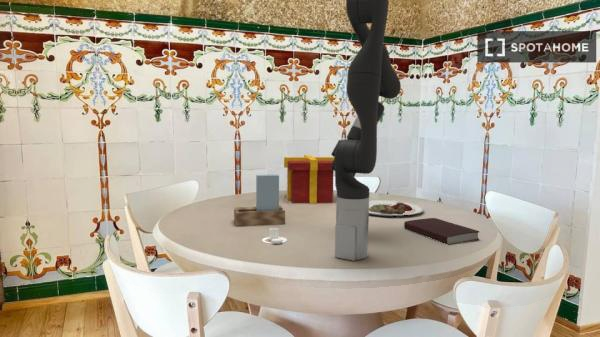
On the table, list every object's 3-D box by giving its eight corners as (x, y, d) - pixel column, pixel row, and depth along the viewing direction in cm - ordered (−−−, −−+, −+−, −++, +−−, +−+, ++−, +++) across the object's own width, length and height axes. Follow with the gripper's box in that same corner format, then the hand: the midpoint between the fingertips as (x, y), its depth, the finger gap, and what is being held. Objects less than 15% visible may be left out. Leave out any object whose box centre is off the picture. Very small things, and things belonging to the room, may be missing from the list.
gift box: (282, 194, 221) (282, 154, 219) (330, 194, 224) (331, 154, 221) (286, 204, 196) (286, 160, 194) (340, 204, 199) (341, 159, 197)
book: (446, 246, 137) (446, 235, 137) (403, 229, 157) (403, 219, 156) (479, 241, 143) (480, 230, 143) (434, 226, 163) (434, 216, 162)
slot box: (280, 218, 170) (280, 205, 170) (285, 224, 161) (285, 210, 161) (234, 220, 166) (234, 207, 166) (236, 226, 158) (235, 212, 157)
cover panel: (277, 221, 166) (277, 174, 163) (278, 223, 163) (279, 175, 160) (256, 222, 164) (256, 174, 162) (257, 224, 161) (257, 175, 159)
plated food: (337, 208, 190) (337, 201, 190) (384, 201, 208) (385, 194, 208) (390, 222, 166) (390, 214, 166) (438, 212, 184) (438, 204, 184)
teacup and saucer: (283, 246, 135) (283, 233, 135) (258, 245, 137) (258, 232, 136) (288, 238, 144) (288, 226, 143) (265, 237, 145) (265, 225, 145)
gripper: (341, 121, 149) (320, 163, 148) (371, 130, 138) (348, 176, 137) (354, 130, 153) (334, 171, 153) (384, 139, 143) (362, 183, 142)
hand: (340, 173), depth 145 cm, fingers open, 8 cm apart
